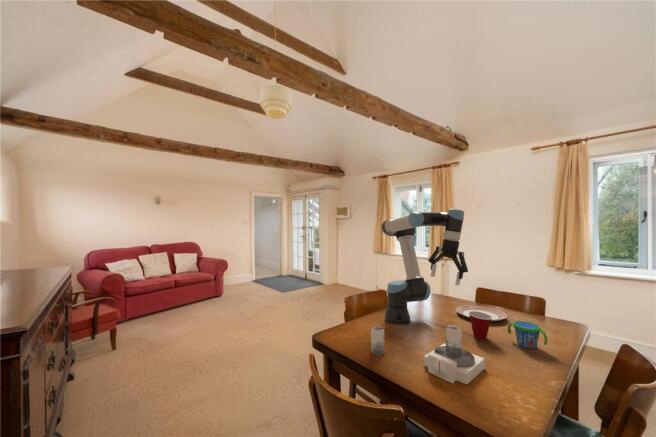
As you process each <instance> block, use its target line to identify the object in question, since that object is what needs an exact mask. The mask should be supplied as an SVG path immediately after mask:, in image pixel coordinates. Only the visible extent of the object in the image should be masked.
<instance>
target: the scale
mask: <svg viewBox="0 0 656 437" xmlns="http://www.w3.org/2000/svg"><path fill="white" fill-rule="evenodd" d="M440 346H446V343H442V344H441V345H439V346H438V347H440ZM435 349H436V348H435ZM435 349H433V350H431V351H430V352H428V353H427V354H425V355H423V360H424V361H423V366H425V367H427V371H428V373H430V374H432V375H434V376H436V377H438V378H440V379H443V380H445V381H447V382H448V383H450V384H455V383H456V382H459V381H460V382H459V383H461V382H462V384H463V383H465V384H467V385H469V383H470V382H471V381H473V380H474V378H476V377H477V376H478V375H479V374H480V373H482V372H483V371H484V369H485V366H486V364H485V358H484V357H482V356H479V355H476V354H473V353H471V354H472V355H473V356H474V358H475V363H474V364H473V365H472V366H469V367H457V362H455V361H453V360H451V359H448V358H446V357H443V356H441V355H438V354H436V353H434V351H435ZM455 381H456V382H455ZM454 382H455V383H454ZM465 384H464V385H465Z"/></svg>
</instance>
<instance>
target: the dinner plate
mask: <svg viewBox="0 0 656 437" xmlns="http://www.w3.org/2000/svg"><path fill="white" fill-rule="evenodd" d="M455 311H456V312H457V313H459V315H461V316H464V317H466V318H468V319H470V315H469V312H470V311H477V312H482V313H486V314H488V315H490V316H492V319H491V321H490V323H491V322H498V321H499V322H500V321H503V320H505V319H506V318H507V316H508V315H507V314H506V313H505V312H503V311H502V310H498V309H495V308H491V307H486V306H480V305H462V306H458V307H457V308H456V309H455Z"/></svg>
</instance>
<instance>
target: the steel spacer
mask: <svg viewBox="0 0 656 437" xmlns="http://www.w3.org/2000/svg"><path fill="white" fill-rule="evenodd" d="M370 340H371V341H370V347H371V348H370V350H371V351H370V352H372V353H373V354H375V355H374V356H376V355H382V356H384V355H385V328H384V327H383V326H380V325H379V326H378V325H374V326H371V327H370ZM372 353H371V354H372ZM373 354H372V355H373ZM383 354H384V355H383Z"/></svg>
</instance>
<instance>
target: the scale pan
mask: <svg viewBox="0 0 656 437" xmlns="http://www.w3.org/2000/svg"><path fill="white" fill-rule="evenodd" d="M439 346H440V347H439ZM439 346H437V347H436V348H435V351H434V353H436V354H438V355H441V356H443V357H446V358H448V359H451V360H453V361H455V362H457V367H469V366H472V365H473V364H474V363H475V358H474V356H473V355H472V354H473V353H471V352H470V351H468V350H465V349H463V348H462V357H461V358H452V357H450V356H448V355H447V354H446V346H441V345H439Z"/></svg>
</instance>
